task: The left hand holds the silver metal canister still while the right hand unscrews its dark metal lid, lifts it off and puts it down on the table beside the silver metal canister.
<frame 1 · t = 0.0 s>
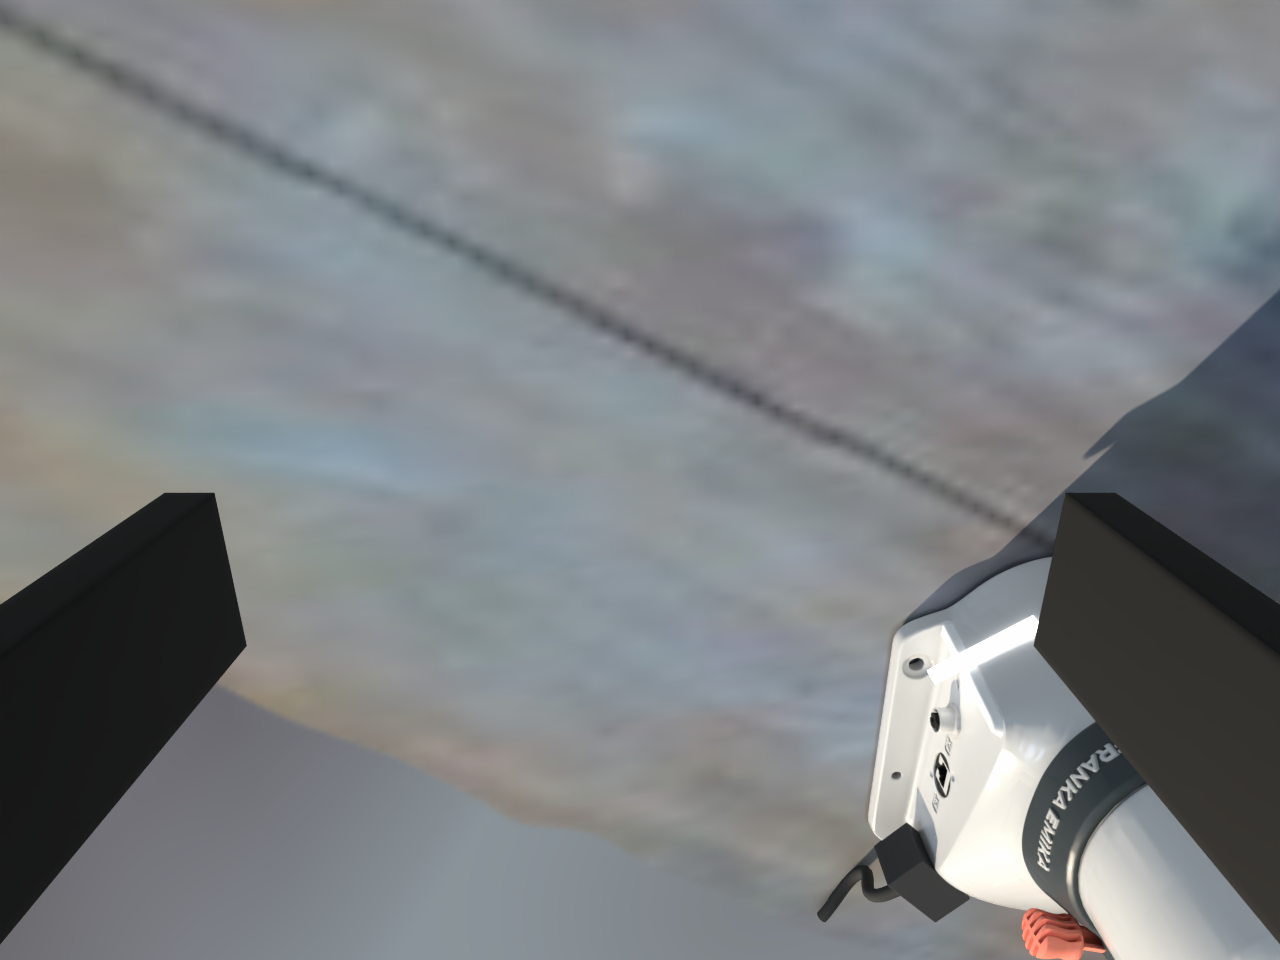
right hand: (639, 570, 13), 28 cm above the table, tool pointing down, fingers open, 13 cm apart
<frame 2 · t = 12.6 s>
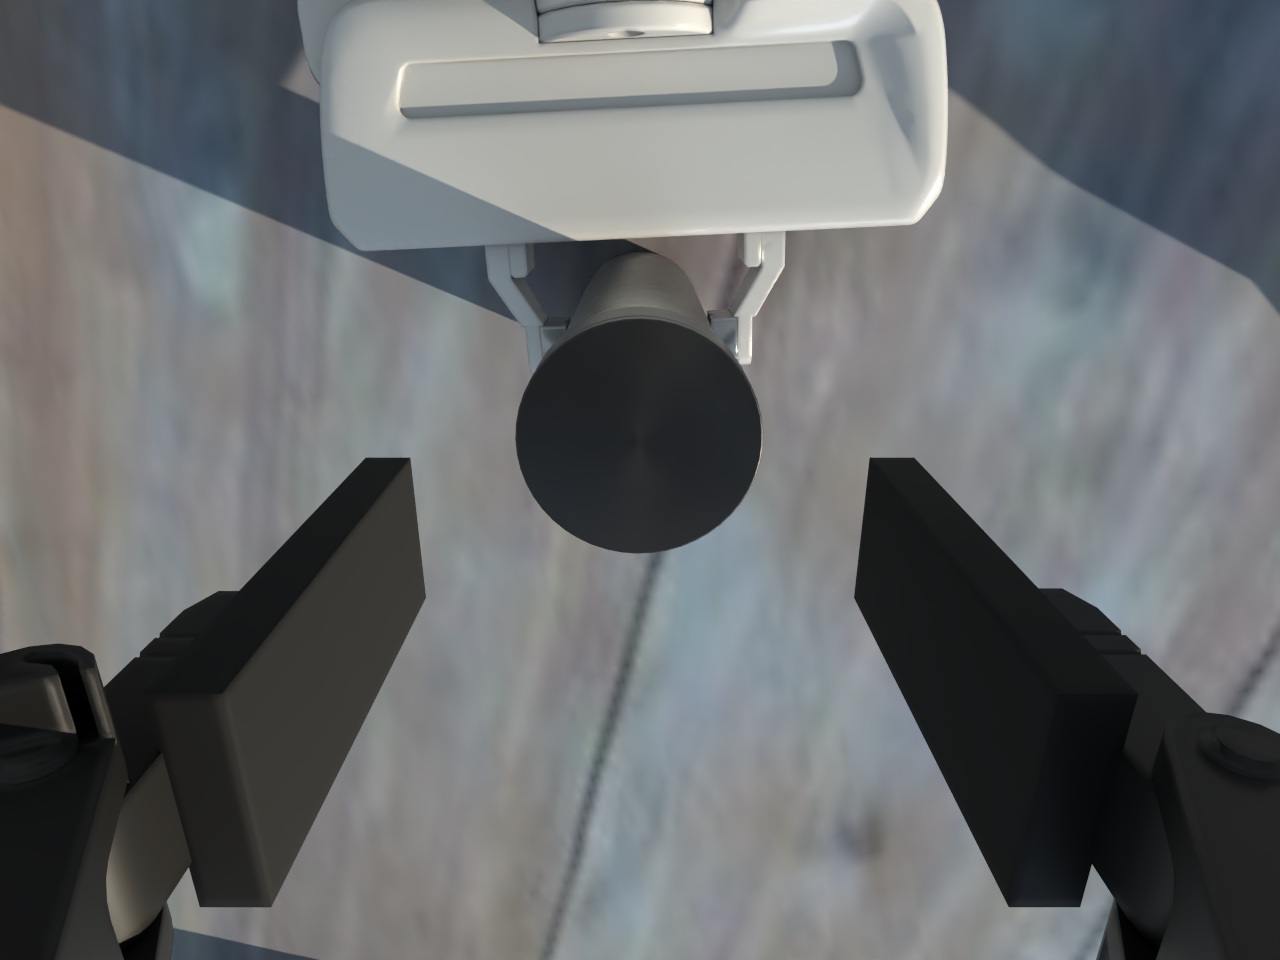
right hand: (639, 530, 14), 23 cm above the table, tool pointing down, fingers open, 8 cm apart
left hand: (641, 366, 29), fingers closed on silver metal canister, 5 cm apart
silver metal canister: (639, 311, 35), on the table, touching left hand
lid: (639, 438, 19), point 18 cm above the table, screwed on, not yet turned
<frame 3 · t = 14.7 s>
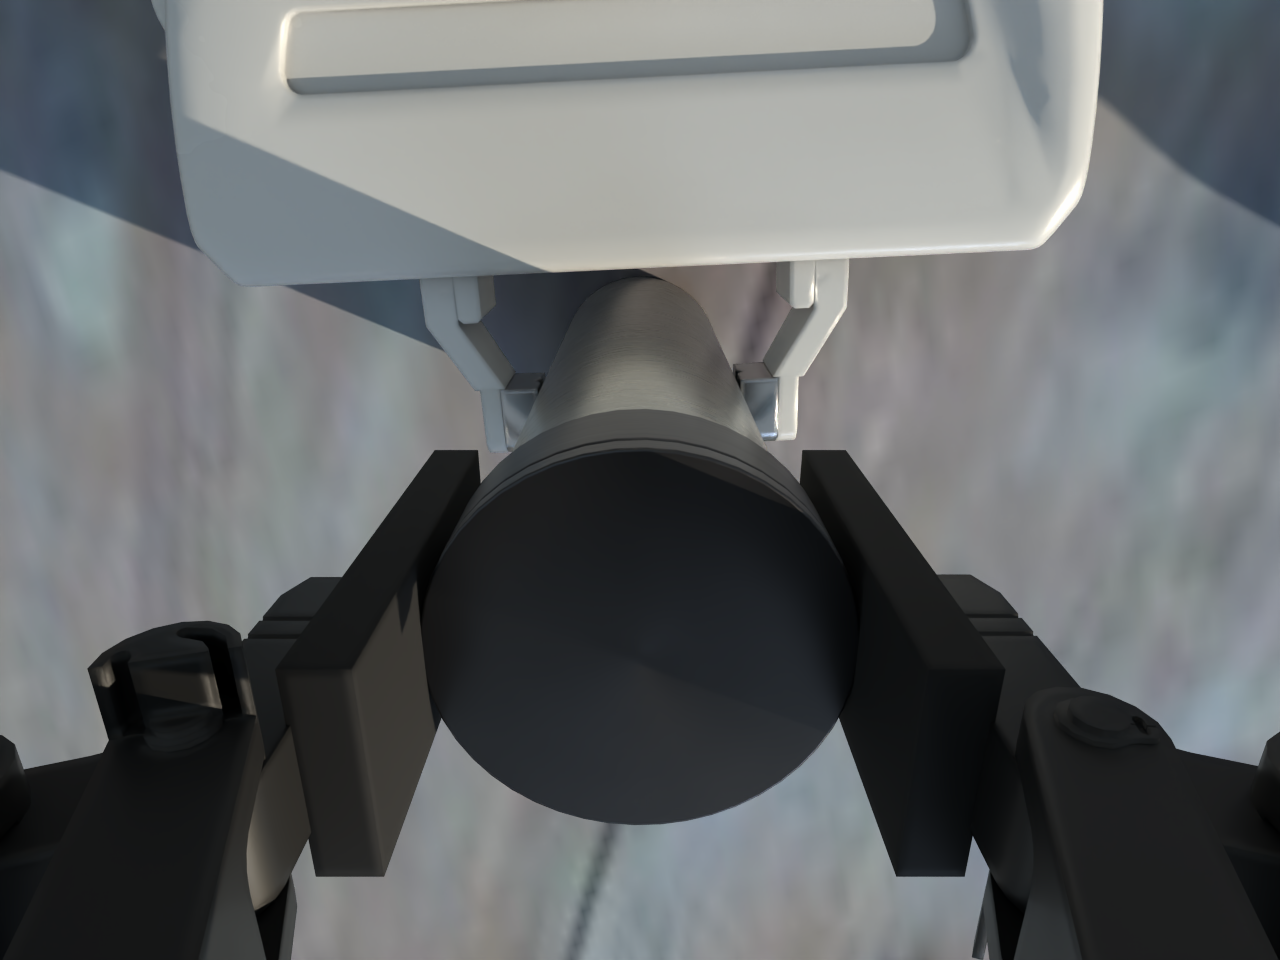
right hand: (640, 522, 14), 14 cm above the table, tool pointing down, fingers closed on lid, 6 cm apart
left hand: (643, 440, 21), fingers closed on silver metal canister, 5 cm apart
silver metal canister: (640, 353, 27), on the table, touching left hand
lid: (640, 641, 11), point 18 cm above the table, screwed on, not yet turned, touching right hand
when the right hand's fingers open (14 cm above the table, at t = 15.8 s): lid stays where it is, point 18 cm above the table.
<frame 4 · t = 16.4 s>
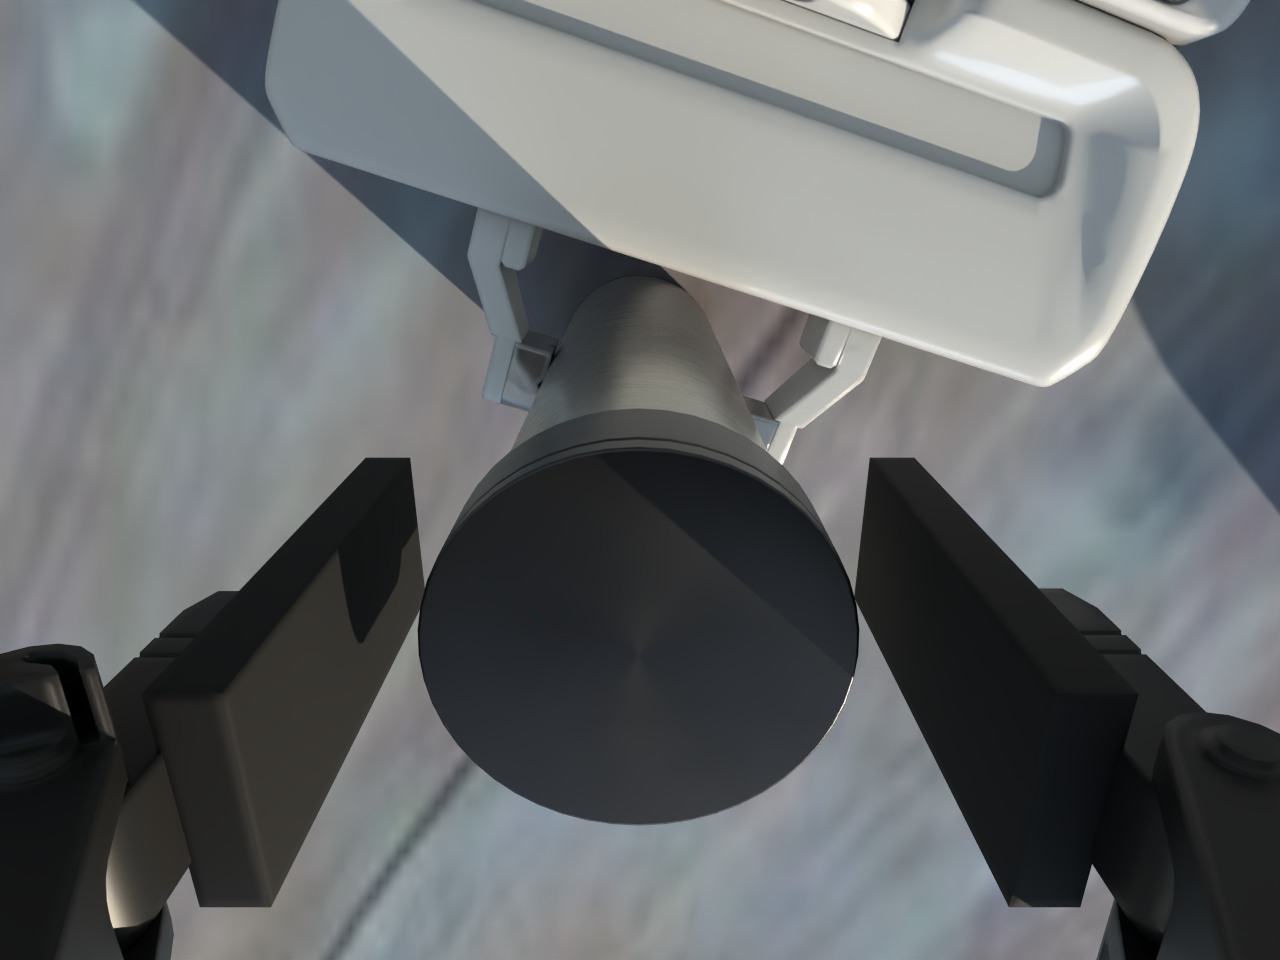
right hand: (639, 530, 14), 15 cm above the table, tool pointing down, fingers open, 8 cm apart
left hand: (631, 436, 22), fingers closed on silver metal canister, 5 cm apart
silver metal canister: (639, 352, 27), on the table, touching left hand
lid: (638, 641, 11), point 18 cm above the table, turned 74° so far, risen 0.2 cm, still on its thread
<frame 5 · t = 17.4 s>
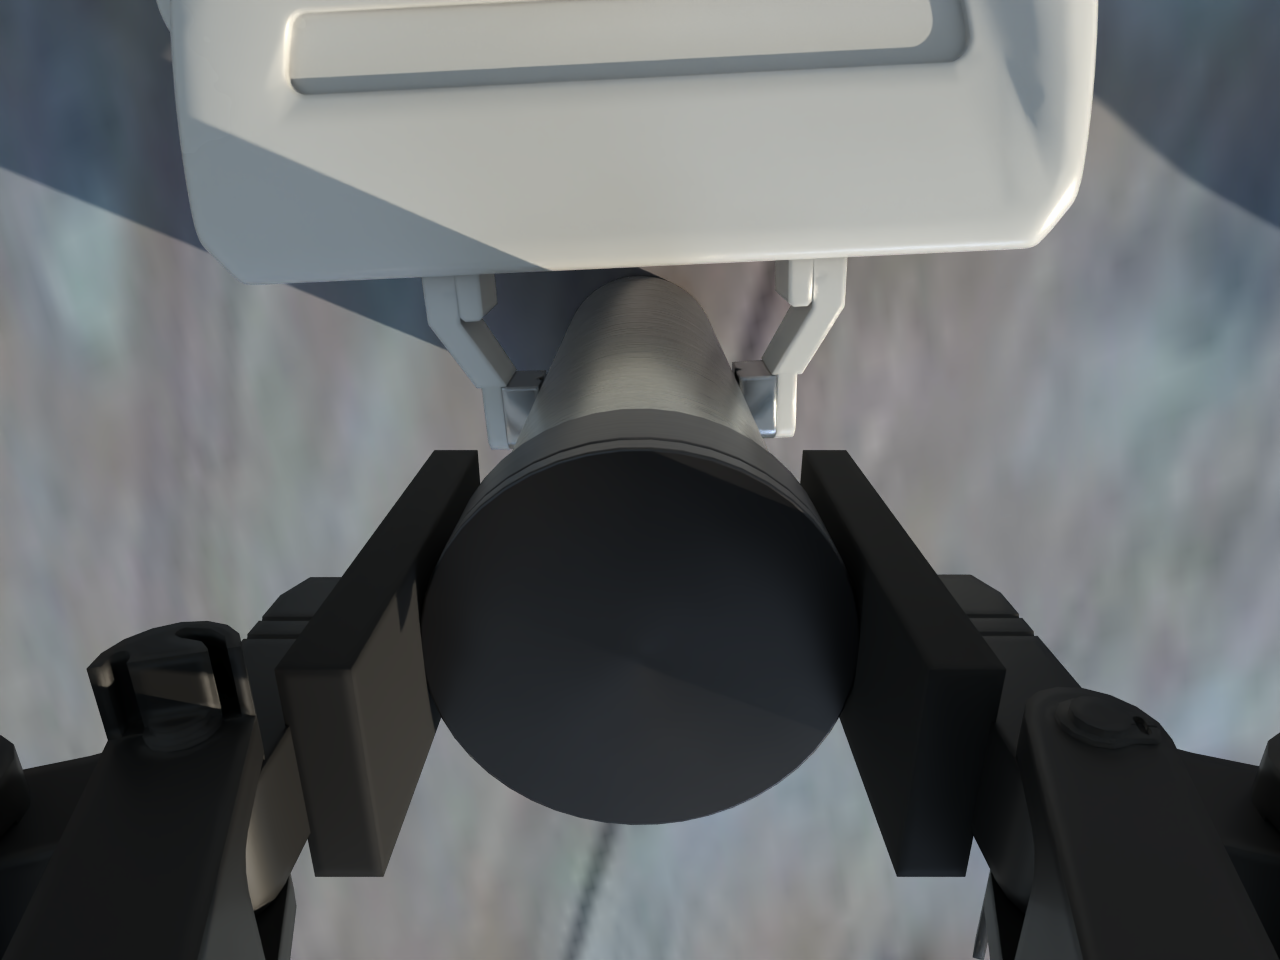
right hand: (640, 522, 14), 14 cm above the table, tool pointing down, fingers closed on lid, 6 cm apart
left hand: (643, 437, 22), fingers closed on silver metal canister, 5 cm apart
silver metal canister: (640, 352, 27), on the table, touching left hand
lid: (640, 641, 11), point 18 cm above the table, turned 74° so far, risen 0.2 cm, still on its thread, touching right hand
when the right hand's fingers open (0 cm above the table, at t = 23.0 s): lid drops 3 cm, point 1 cm above the table.
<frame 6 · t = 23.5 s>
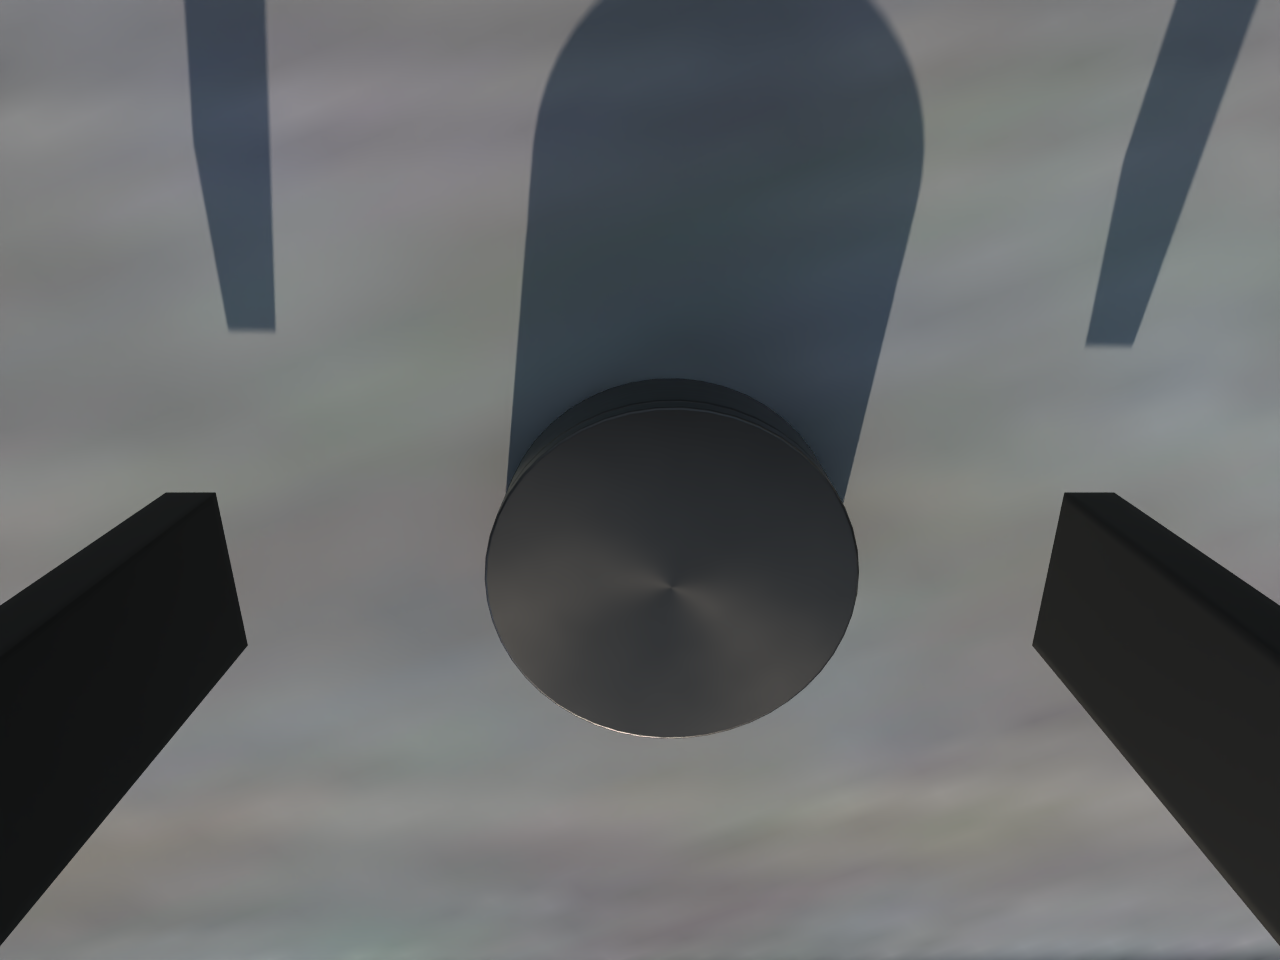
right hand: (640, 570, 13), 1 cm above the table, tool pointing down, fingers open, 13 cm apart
lid: (670, 576, 13), point 1 cm above the table, off its thread
when the left hand's fingers open (7 cm above the table, at t = 24.2 s): silver metal canister stays where it is, on the table.
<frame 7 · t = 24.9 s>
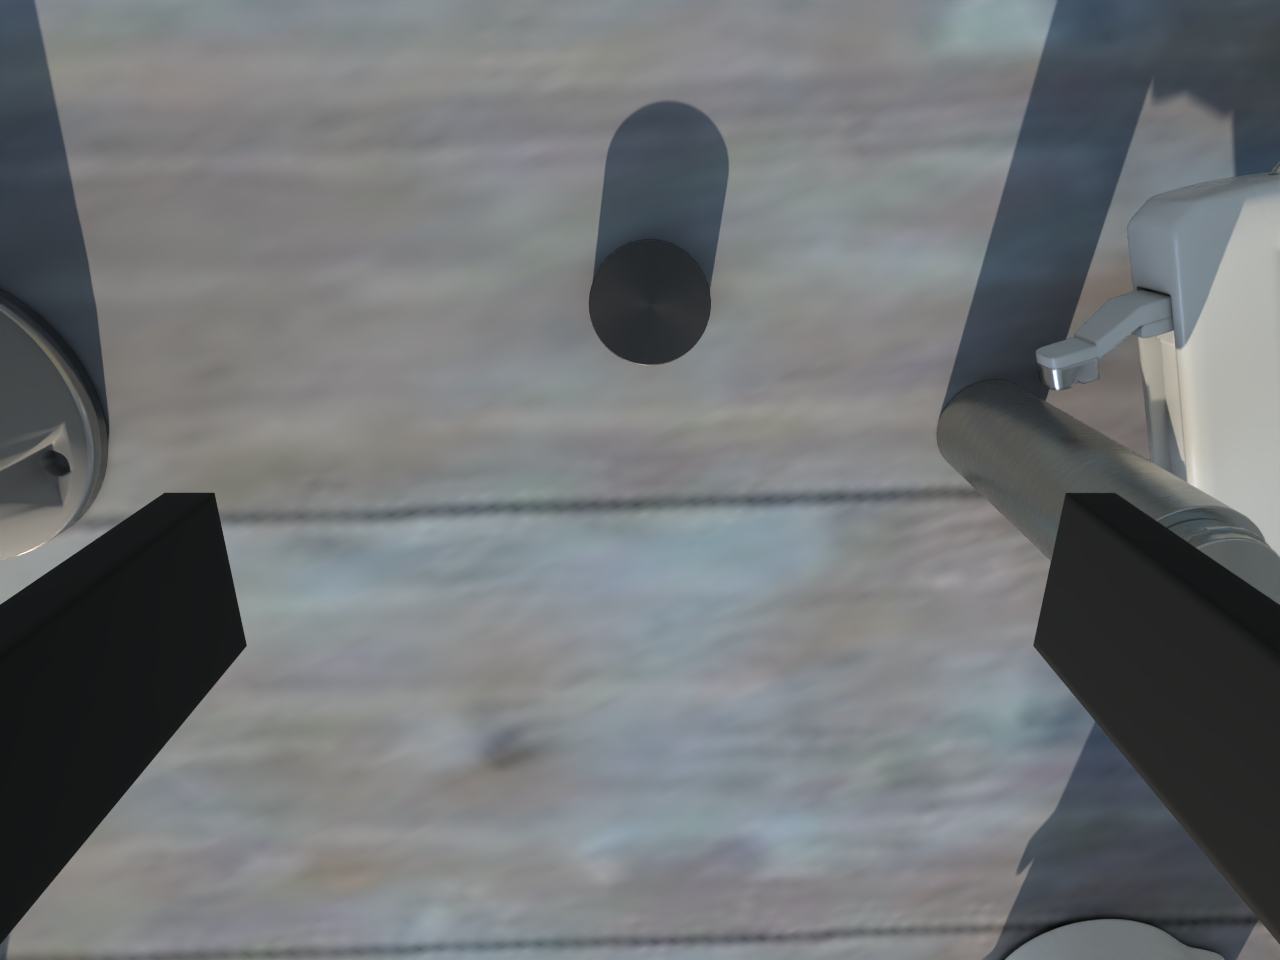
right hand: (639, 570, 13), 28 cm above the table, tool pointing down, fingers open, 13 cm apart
silver metal canister: (986, 428, 41), on the table
lid: (649, 304, 38), point 1 cm above the table, off its thread
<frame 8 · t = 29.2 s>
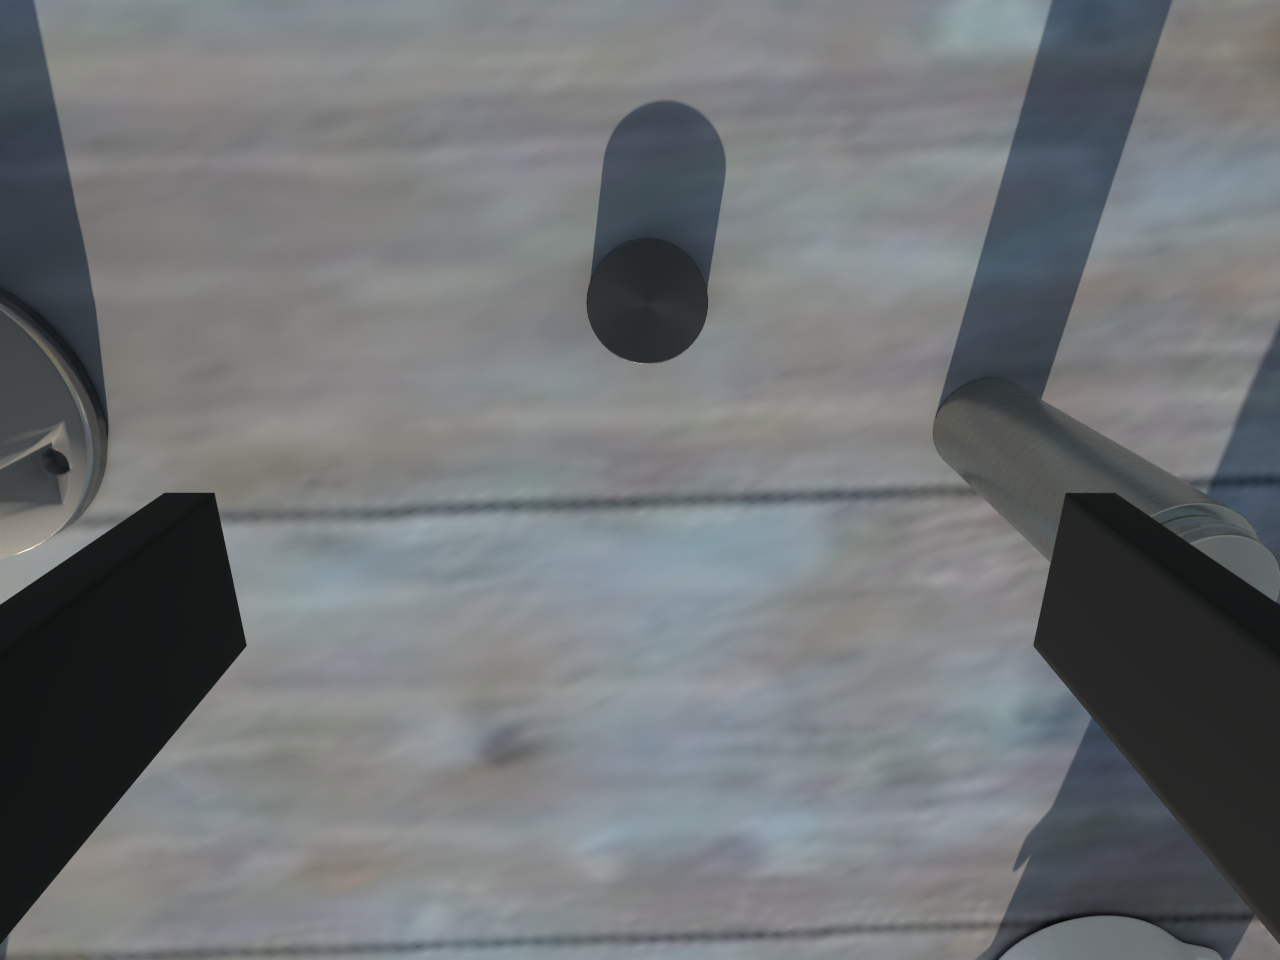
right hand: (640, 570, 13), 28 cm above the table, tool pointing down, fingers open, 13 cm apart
silver metal canister: (982, 426, 41), on the table
lid: (647, 303, 38), point 1 cm above the table, off its thread
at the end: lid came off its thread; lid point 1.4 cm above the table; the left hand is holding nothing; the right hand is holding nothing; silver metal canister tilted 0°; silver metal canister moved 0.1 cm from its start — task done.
